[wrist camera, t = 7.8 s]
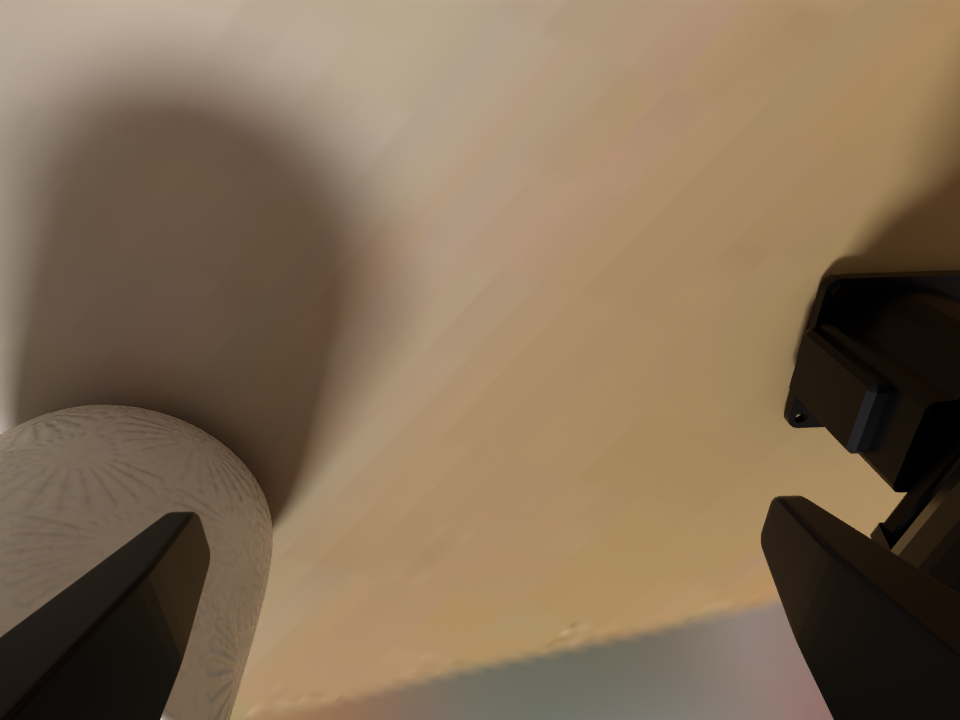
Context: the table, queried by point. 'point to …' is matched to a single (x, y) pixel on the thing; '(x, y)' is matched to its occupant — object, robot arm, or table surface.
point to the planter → (135, 527)
